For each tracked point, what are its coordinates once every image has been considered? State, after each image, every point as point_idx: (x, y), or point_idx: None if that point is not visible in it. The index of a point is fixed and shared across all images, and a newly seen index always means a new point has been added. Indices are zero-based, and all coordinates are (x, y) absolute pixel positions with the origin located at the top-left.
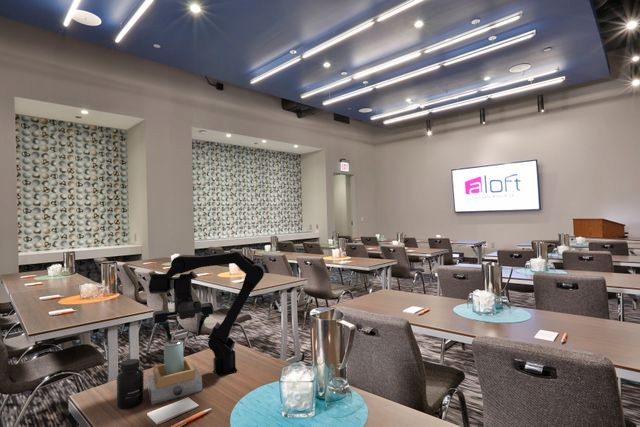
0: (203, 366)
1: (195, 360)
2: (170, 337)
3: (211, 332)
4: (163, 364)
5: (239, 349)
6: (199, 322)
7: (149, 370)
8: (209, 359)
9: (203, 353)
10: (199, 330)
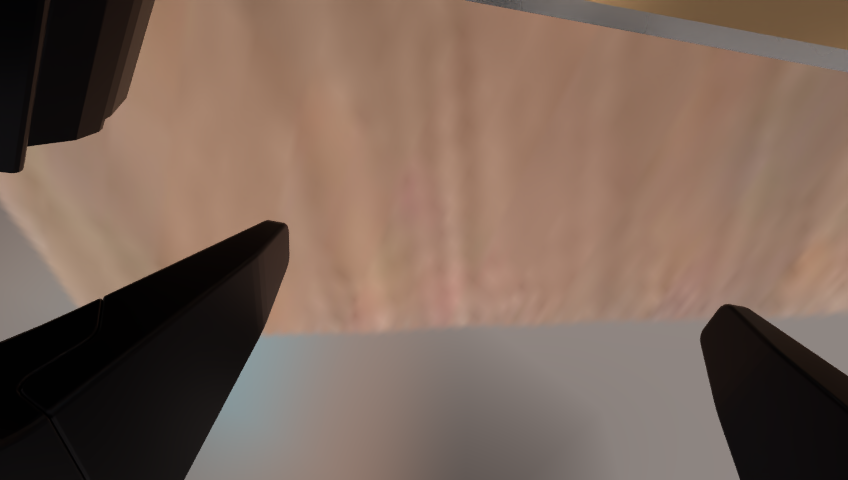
0: (334, 128)
1: (350, 259)
2: (775, 342)
3: (15, 119)
4: (835, 38)
5: (51, 217)
6: (81, 400)
7: (618, 315)
8: (267, 210)
9: (280, 314)
10: (219, 259)
